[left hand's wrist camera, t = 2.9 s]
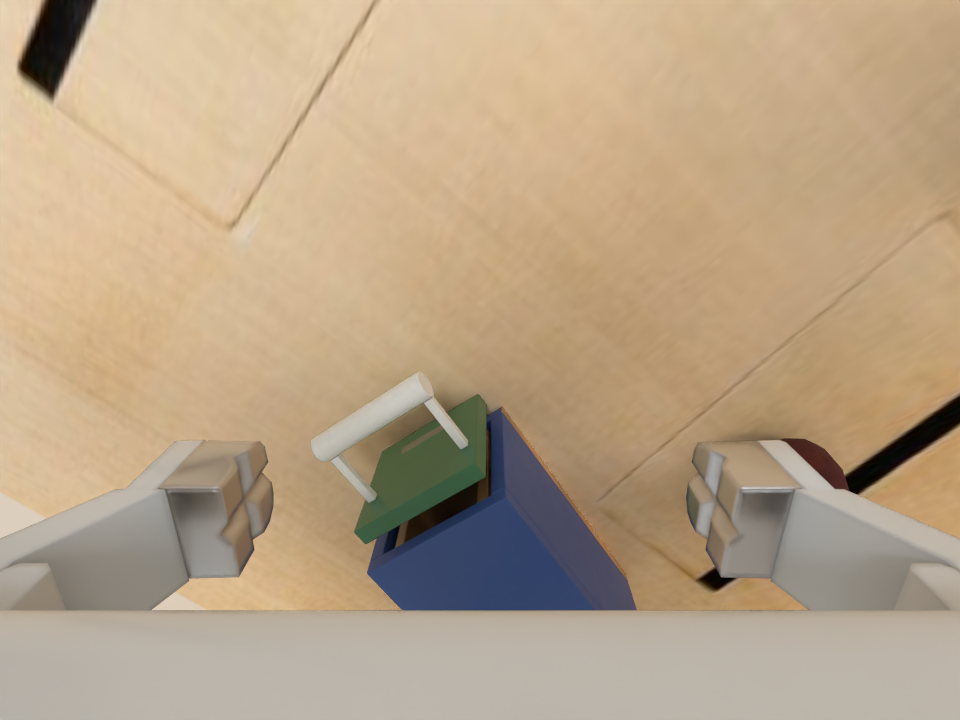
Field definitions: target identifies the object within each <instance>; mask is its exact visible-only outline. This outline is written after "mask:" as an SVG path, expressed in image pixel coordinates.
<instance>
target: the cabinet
mask: <svg viewBox="0 0 960 720" xmlns="http://www.w3.org/2000/svg"><path fill="white" fill-rule="evenodd" d="M487 430H489V432H490V433H491V496H489V497H487V498H485V499H484V500H482V501H480V502H478V503H476V504H474V505H473V506H471V507H469V508H467V509H465V510H463V511H462V512H460V513H458V514H456V515H454V516H453V517H451V518H449V519H447V520H445V521H443V522H442V523H440V524H438V525H436V526H434V527H432V528H431V529H429V530H427V531H425V532H423V533H421V534H420V535H418V536H416V537H414V538H412V539H411V540H409V541H407V542H405V543H403V544H401V545H400V546H398V547H396V548H395V545H396V541H397V537H398V532H399V528H400V525H399V526H397V527H396V528H394V529H392V530H390V531H388V532H387V533H385V534H383V535H381V536H380V537H378V538H377V540H376V543H375V547H374V550H373V554H372V557H371V562H370V564H369V568H368V571H367V574H368V575H369V576H370V577H371V578H372V579H373V580H374V581H375V582H376V583H377V584H378V585H379V586H380V588H381V589H382V590H383V591H384V592H385V593H386V594H387V595H388V596H389V597H390V598H391V599H392V600H393V601H394V602H395V603H396V604H397V605H398V606H399V607H400V608H401V609H402V610H636V606H635V603H634V600H633V597H632V594H631V590H630V587H629V584H628V580H627V577H626V574H625V573H624V571H623V570H622V568H621V567H620V566H619V564H618V563H617V562H616V560H615V559H614V558H613V556H612V555H611V554H610V552H609V551H608V549H607V548H606V547H605V545H604V544H603V543H602V541H601V540H600V539H599V537H598V536H597V535H596V533H595V532H594V530H593V529H592V528H591V526H590V525H589V524H588V522H587V521H586V520H585V518H584V517H583V516H582V514H581V513H580V511H579V510H578V509H577V507H576V506H575V505H574V503H573V502H572V501H571V499H570V498H569V497H568V495H567V494H566V492H565V491H564V490H563V488H562V487H561V486H560V484H559V483H558V482H557V480H556V479H555V478H554V476H553V475H552V473H551V472H550V471H549V469H548V468H547V467H546V465H545V464H544V463H543V461H542V460H541V459H540V457H539V456H538V454H537V453H536V452H535V450H534V449H533V448H532V446H531V445H530V444H529V442H528V441H527V440H526V438H525V437H524V435H523V434H522V433H521V431H520V430H519V429H518V427H517V426H516V425H515V423H514V422H513V421H512V419H511V418H510V416H509V415H508V414H507V412H506V411H505V410H504V408H503V407H501V408H500V409H498V410H496V411H495V412H493V413H491V414H490V415H488V416H487V419H486V431H487Z"/></svg>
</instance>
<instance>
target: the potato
mask: <svg viewBox="0 0 960 720" xmlns="http://www.w3.org/2000/svg"><path fill="white" fill-rule="evenodd" d="M781 441H784V442H786V443H787V444H788V445H789V446H790V447H791V448H793V449H794V450H795V451H796V452H797V453H798V454H799V455H800V456H801V457H802V458H803V459H804V460H805V461H806V462H807V463H808V464H809V465H810V466H811V467H812V468H813V469H814V470H816V471H817V472H818V473H819V474H820V475H821V476H822V477H823V478H824V479H825V480H826V481H827V482H828V483H829V484H830V485H831V486H832V487H833V488H834V489H845V490H847V491H849V489H848V485H847V482H846V479H845V476H844V473H843V470H842V468H841V467H840V466H839V465H838V464H837V463H836V462H835V460H834V459H833V458H832V457H831V456H830V455H829V454H828V452H827V451H826V450H825V449H823V448H822V447H820V446H818V445H817V444H814V443H812V442H810V441H808V440H806V439H782V440H781Z"/></svg>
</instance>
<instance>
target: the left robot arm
mask: <svg viewBox="0 0 960 720" xmlns="http://www.w3.org/2000/svg"><path fill="white" fill-rule="evenodd" d="M267 463H268V459H267V455H266V450H265V446H264V445H263V444H262V443H261V442H260V441H210V440H209V441H206V440H182V441H176V442H174V443H173V444H172V445H171V446H170V447H169V448H168V449H167V450H166V451H164V452H163V453H162V454H161V455H160V456H159V457H158V458H157V459H156V460H155V461H154V462H153V463H152V464H151V465H150V466H149V467H148V468H147V469H146V470H145V471H144V472H142V473H141V474H140V475H139V476H138V477H137V478H136V479H135V480H134V481H133V482H132V483H131V484H130V485H129V486H128V487H127V488H126V489H115V490H113V491H111V492H108V493H106V494H104V495H101V496H99V497H97V498H94V499H92V500H90V501H87V502H85V503H83V504H80V505H78V506H76V507H73V508H71V509H69V510H66V511H64V512H61V513H59V514H57V515H54V516H52V517H50V518H47V519H45V520H43V521H41V522H38V523H36V524H33V525H31V526H29V527H26V528H24V529H22V530H19V531H17V532H15V533H12V534H10V535H8V536H5V537H3V538H1V539H0V720H960V539H959V538H957V537H954V536H952V535H950V534H947V533H945V532H943V531H940V530H938V529H936V528H933V527H931V526H929V525H926V524H924V523H922V522H919V521H917V520H915V519H912V518H910V517H908V516H905V515H903V514H901V513H898V512H896V511H894V510H891V509H889V508H887V507H884V506H882V505H880V504H877V503H875V502H873V501H870V500H868V499H866V498H863V497H861V496H859V495H856V494H854V493H852V492H849V491H847V490H845V489H834V488H833V487H832V486H831V485H830V484H829V483H828V482H827V481H826V480H825V479H824V478H823V477H822V476H821V475H820V474H819V473H818V472H817V471H816V470H814V469H813V468H812V467H811V466H810V465H809V464H808V463H807V462H806V461H805V460H804V459H803V458H802V457H801V456H800V455H799V454H798V453H797V452H796V451H795V450H794V449H793V448H791V447H790V446H789V445H788V444H787V443H786V442H784V441H781V440H762V441H721V442H699V443H697V445H696V447H695V449H694V453H693V459H692V463H693V465H694V466H695V468H696V469H697V471H698V473H697V474H696V475H695V476H694V477H693V478H692V479H691V480H690V481H689V482H688V489H687V496H686V500H687V511H688V515H689V518H690V522H691V524H692V526H693V528H694V530H695V531H696V533H698V534H699V535H701V536H702V537H704V538H706V539H707V545H706V551H707V553H708V555H709V556H710V558H711V560H712V562H713V563H714V565H715V567H716V569H717V570H718V572H719V574H720V576H721V577H734V578H770V579H771V581H772V582H773V583H775V584H776V585H777V586H778V587H780V588H781V589H782V590H784V591H785V592H786V593H788V594H789V595H790V596H791V597H793V598H794V599H795V600H797V601H798V602H799V603H801V604H802V605H803V606H804V607H806V608H807V609H808V610H152V609H153V608H154V607H156V606H157V605H158V604H160V603H161V602H162V601H163V600H165V599H166V598H167V597H169V596H170V595H171V594H173V593H174V592H175V591H177V590H178V589H179V588H180V587H182V586H183V585H184V584H186V583H187V582H188V581H189V578H225V577H239V576H240V574H241V572H242V571H243V569H244V567H245V565H246V563H247V562H248V560H249V558H250V556H251V555H252V553H253V551H254V545H253V539H254V538H256V537H258V536H259V535H261V534H262V533H264V531H265V530H266V528H267V526H268V524H269V522H270V518H271V514H272V510H273V488H272V482H271V481H270V480H269V479H268V478H267V477H266V476H265V475H264V474H263V473H262V471H263V469H264V468H265V466H266V465H267Z"/></svg>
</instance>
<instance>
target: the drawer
mask: <svg viewBox="0 0 960 720" xmlns="http://www.w3.org/2000/svg"><path fill="white" fill-rule="evenodd" d="M423 402H424V404H425V405H426V407H427V408H428V409H429V410H430V412H431V413H432V414H433V415H434V417H435V418H436V420H434V421H432V422H431V423H429V424H427V425H426V426H424V427H422V428H421V429H419V430H417V431H416V432H414V433H412V434H411V435H409V436H407V437H406V438H404V439H402V440H401V441H399V442H397V443H396V444H394V445H393V446H391V447H389V448H388V449H386V450H384V451H383V452H382V454H381V457H380V460H379V462H378V465H377V468H376V471H375V474H374V477H373V480H372V482H371V485H369V484H368V483H367V482H366V481H365V480H364V479H363V478H362V476H361V475H360V474H359V473H358V472H357V471H356V470H355V469H354V467H353V466H352V465H351V464H350V463H349V462H348V461H347V460H346V459H345V457H344V456H343V455H342V454H341V453H342V452H344V451H345V450H347V449H349V448H350V447H352V446H354V445H355V444H357V443H358V442H360V441H362V440H363V439H365V438H366V437H368V436H370V435H371V434H373V433H375V432H376V431H378V430H379V429H381V428H383V427H384V426H386V425H388V424H389V423H391V422H392V421H394V420H396V419H397V418H399V417H401V416H402V415H404V414H405V413H407V412H409V411H410V410H412V409H414V408H415V407H417V406H418V405H420V404H422V403H423ZM486 419H487V405H486V403H485V402H484V401H483V399H482V398H481V397H480V395H479V394H477V395H475V396H474V397H472V398H470V399H469V400H467V401H465V402H464V403H462V404H460V405H459V406H457V407H455V408H454V409H452V410H451V411H449V412H447V413H446V412H445V410H444V409H443V408H442V407H441V405H440V404H439V403H438V401H437V400H436V399H435V398H434V390H433V387H432V385H431V383H430V381H429V380H428V379H427V377H426V376H425V375H424V374H423V373H421V372H416V373H415V374H413V375H412V376H410V377H409V378H407V379H405V380H404V381H402V382H401V383H399V384H398V385H396V386H394V387H393V388H391V389H390V390H388V391H387V392H385V393H383V394H382V395H380V396H379V397H377V398H376V399H374V400H372V401H371V402H369V403H368V404H366V405H365V406H363V407H361V408H360V409H358V410H357V411H355V412H353V413H352V414H350V415H349V416H347V417H346V418H344V419H342V420H341V421H339V422H338V423H336V424H335V425H333V426H331V427H330V428H328V429H327V430H325V431H324V432H322V433H320V434H319V435H317V436H316V437H314V438H313V439H312V440H311V449H312V451H313V453H314V455H315V456H316V457H317V458H318V459H319V460H320V461H322V462H327V461H329V460H331V462H332V463H333V464H334V465H335V466H336V467H337V468H338V470H339V471H340V472H341V473H342V474H343V475H344V476H345V477H346V478H347V479H348V481H349V482H350V483H351V484H352V485H353V486H354V487H355V488H356V489H357V490H358V492H359V493H360V494H361V495H362V496H363V497H364V498H365V499H366V500H365V502H364V505H363V508H362V511H361V514H360V517H359V520H358V522H357V525H356V528H355V531H354V533H355V534H356V535H357V536H358V537H359V538H360V539H361V540H362V541H363V542H364V543H365V544H367V543H369V542H371V541H372V540H374V539H376V538H378V537H380V536H381V535H383V534H385V533H387V532H388V531H390V530H392V529H394V528H396V527H397V526H399V525H400V528H399V532H398V537H397V541H396V545H395V548H396V547H398V546H400V545H401V544H403V543H405V542H407V541H409V540H411V539H412V538H414V537H416V536H418V535H420V534H421V533H423V532H425V531H427V530H429V529H431V528H432V527H434V526H436V525H438V524H440V523H442V522H443V521H445V520H447V519H449V518H451V517H453V516H454V515H456V514H458V513H460V512H462V511H463V510H465V509H467V508H469V507H471V506H473V505H474V504H476V503H478V502H480V501H482V500H484V499H485V498H487V497H489V496H491V433H490V432H489V430H487V431H486Z"/></svg>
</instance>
